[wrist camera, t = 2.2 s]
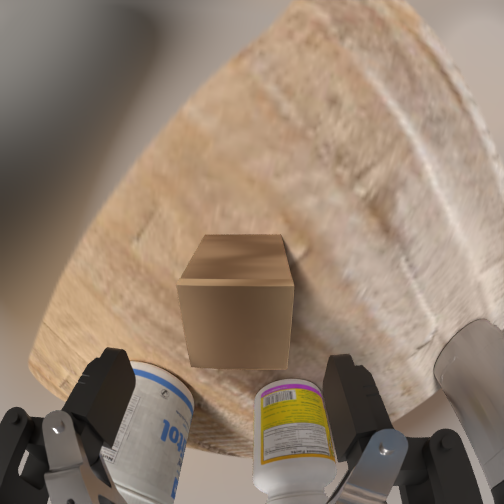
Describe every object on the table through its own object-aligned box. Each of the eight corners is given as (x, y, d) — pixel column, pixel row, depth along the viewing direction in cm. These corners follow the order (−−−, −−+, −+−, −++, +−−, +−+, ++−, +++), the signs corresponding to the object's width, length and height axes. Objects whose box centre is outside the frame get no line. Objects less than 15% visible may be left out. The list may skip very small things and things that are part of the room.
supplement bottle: (299, 418, 25) (308, 520, 13) (243, 405, 24) (237, 518, 12) (334, 383, 23) (361, 500, 11) (273, 367, 22) (279, 504, 10)
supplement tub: (209, 413, 25) (191, 533, 12) (139, 413, 26) (106, 512, 13) (169, 351, 22) (117, 503, 8) (94, 358, 23) (33, 467, 9)
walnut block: (281, 234, 18) (294, 285, 11) (278, 300, 20) (286, 369, 13) (204, 234, 18) (176, 284, 11) (210, 299, 20) (191, 367, 13)
